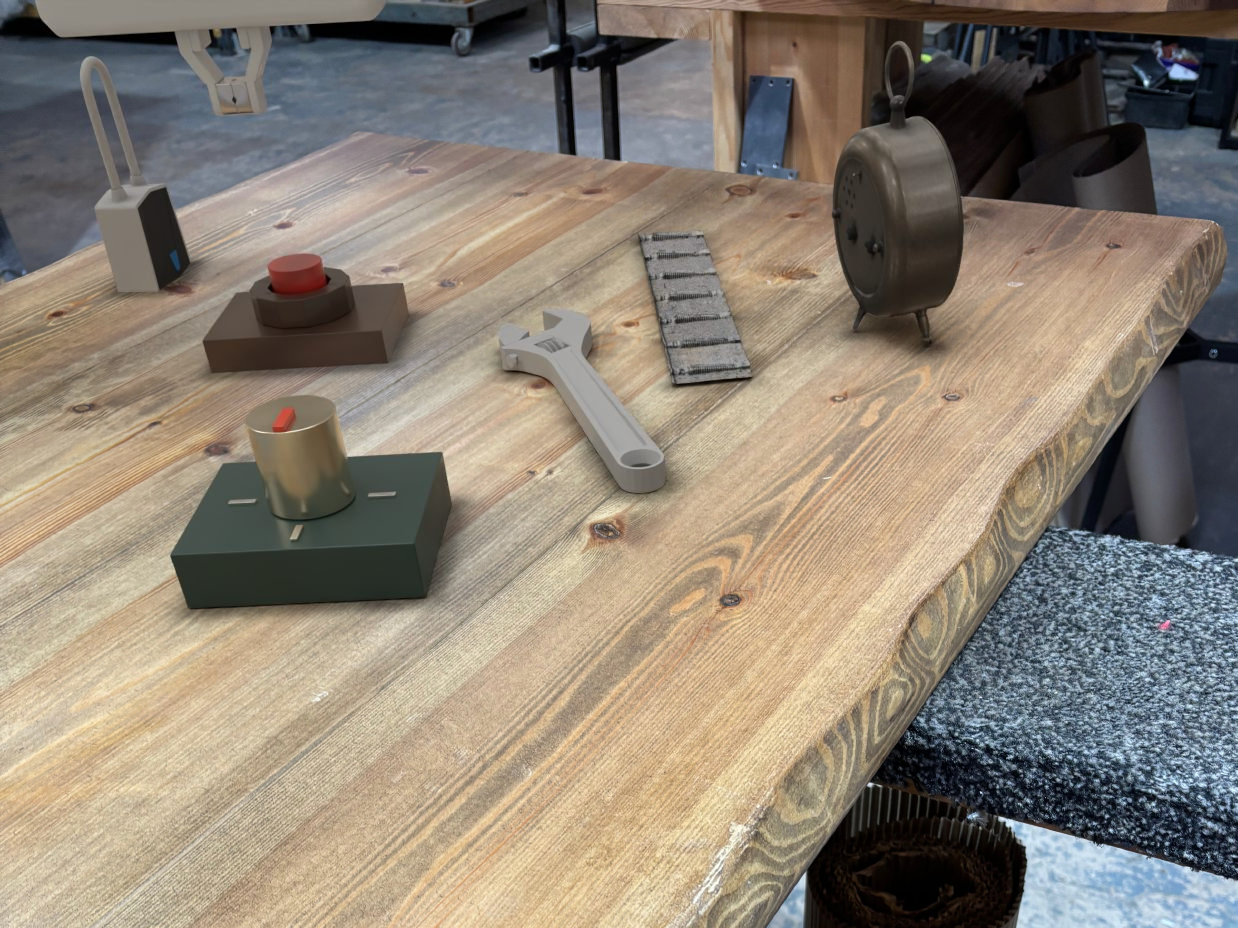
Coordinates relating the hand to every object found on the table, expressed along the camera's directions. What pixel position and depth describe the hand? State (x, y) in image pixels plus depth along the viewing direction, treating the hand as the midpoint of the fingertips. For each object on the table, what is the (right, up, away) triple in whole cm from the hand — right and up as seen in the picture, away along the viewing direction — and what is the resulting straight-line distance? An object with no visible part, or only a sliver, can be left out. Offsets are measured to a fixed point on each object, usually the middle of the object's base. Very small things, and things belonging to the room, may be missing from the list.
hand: (241, 112), depth 82 cm
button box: (+2, -10, +10) cm, 14 cm away
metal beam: (+28, -6, +12) cm, 31 cm away
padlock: (-14, 0, +23) cm, 27 cm away
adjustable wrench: (+20, -18, 0) cm, 27 cm away
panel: (+8, -30, -12) cm, 33 cm away
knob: (+8, -28, -14) cm, 32 cm away
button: (+1, -7, +8) cm, 11 cm away
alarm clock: (+41, -11, +6) cm, 42 cm away
